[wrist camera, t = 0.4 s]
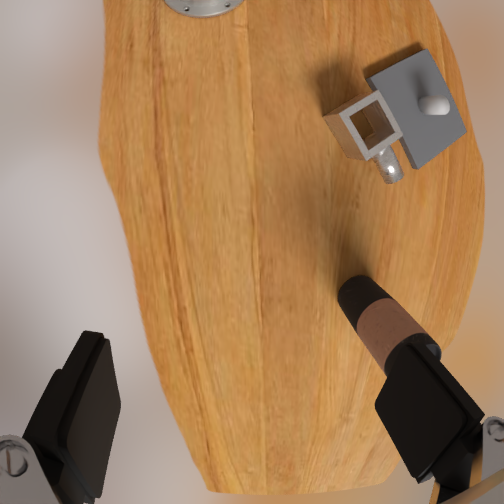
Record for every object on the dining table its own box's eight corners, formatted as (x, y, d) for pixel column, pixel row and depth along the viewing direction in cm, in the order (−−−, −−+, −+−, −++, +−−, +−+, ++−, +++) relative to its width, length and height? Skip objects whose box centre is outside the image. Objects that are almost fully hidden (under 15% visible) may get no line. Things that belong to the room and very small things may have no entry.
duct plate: (365, 79, 37) (385, 72, 32) (422, 50, 36) (443, 43, 30) (412, 168, 43) (435, 173, 37) (461, 131, 41) (484, 133, 36)
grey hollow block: (322, 116, 39) (338, 113, 33) (358, 94, 38) (378, 89, 32) (363, 186, 43) (382, 193, 37) (395, 162, 42) (418, 167, 37)
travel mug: (375, 268, 48) (446, 333, 30) (377, 305, 51) (438, 376, 32) (333, 281, 48) (393, 358, 29) (338, 319, 51) (389, 399, 32)
